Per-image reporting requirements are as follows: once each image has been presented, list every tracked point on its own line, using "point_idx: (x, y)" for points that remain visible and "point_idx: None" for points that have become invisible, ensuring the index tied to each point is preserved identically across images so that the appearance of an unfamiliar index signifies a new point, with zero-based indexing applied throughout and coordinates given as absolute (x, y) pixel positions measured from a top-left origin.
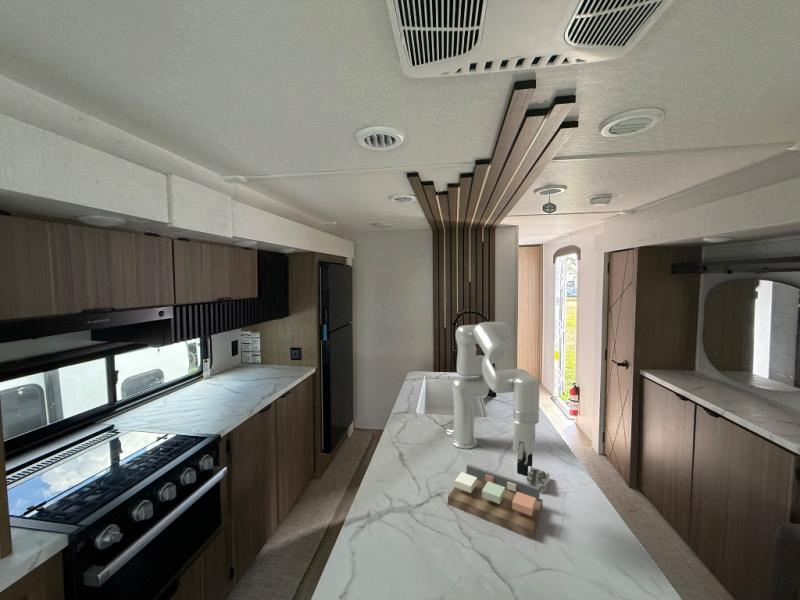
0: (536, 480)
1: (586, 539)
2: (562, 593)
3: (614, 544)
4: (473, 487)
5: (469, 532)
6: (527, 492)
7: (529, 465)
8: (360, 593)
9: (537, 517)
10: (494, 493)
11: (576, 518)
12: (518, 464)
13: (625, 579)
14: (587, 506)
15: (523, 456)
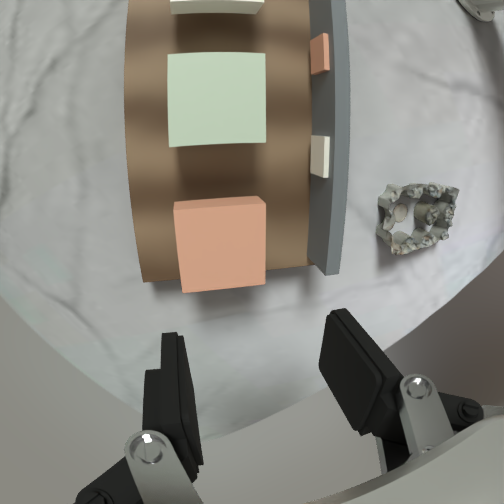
0: (420, 206)
1: (244, 362)
2: (57, 351)
3: (263, 395)
4: (208, 10)
5: (49, 97)
6: (317, 222)
7: (321, 362)
8: None
9: None
10: (182, 113)
11: (309, 330)
12: (164, 403)
13: None
14: None
15: (358, 368)
